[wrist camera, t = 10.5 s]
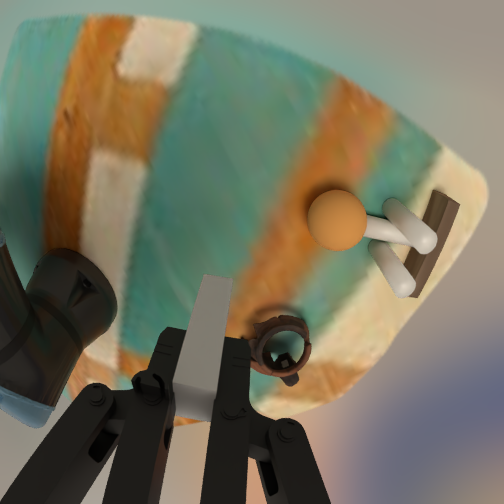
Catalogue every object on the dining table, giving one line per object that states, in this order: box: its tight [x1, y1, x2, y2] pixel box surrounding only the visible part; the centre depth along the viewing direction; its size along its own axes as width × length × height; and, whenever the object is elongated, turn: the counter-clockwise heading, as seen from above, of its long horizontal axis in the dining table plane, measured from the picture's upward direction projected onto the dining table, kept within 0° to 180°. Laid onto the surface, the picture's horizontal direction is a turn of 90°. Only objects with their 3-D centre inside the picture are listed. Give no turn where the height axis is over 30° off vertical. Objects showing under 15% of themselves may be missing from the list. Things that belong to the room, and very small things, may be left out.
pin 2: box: [368, 239, 416, 298], centre depth 27 cm, size 2×2×8 cm
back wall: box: [404, 190, 460, 298], centre depth 29 cm, size 2×13×4 cm, turn 170°
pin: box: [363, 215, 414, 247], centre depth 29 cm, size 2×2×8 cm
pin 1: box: [382, 198, 437, 254], centre depth 25 cm, size 2×2×8 cm
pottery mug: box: [241, 315, 311, 386], centre depth 36 cm, size 12×10×8 cm
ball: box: [307, 190, 367, 251], centre depth 26 cm, size 6×6×6 cm
